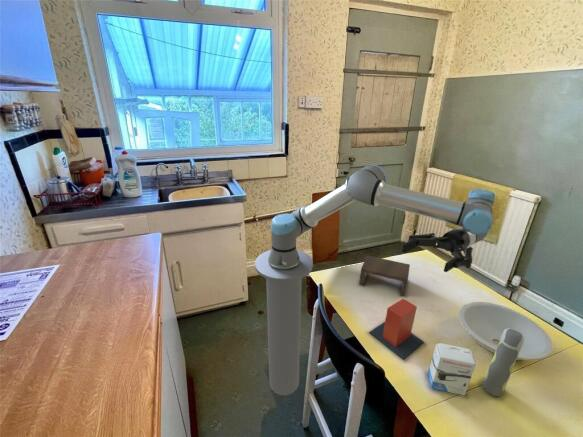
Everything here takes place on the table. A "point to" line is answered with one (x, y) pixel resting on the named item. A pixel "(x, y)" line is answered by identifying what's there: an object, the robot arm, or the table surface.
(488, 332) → the soup bowl
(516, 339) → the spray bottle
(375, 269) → the shelf
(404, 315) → the block
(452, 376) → the ink box
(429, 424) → the table surface
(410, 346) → the mat
